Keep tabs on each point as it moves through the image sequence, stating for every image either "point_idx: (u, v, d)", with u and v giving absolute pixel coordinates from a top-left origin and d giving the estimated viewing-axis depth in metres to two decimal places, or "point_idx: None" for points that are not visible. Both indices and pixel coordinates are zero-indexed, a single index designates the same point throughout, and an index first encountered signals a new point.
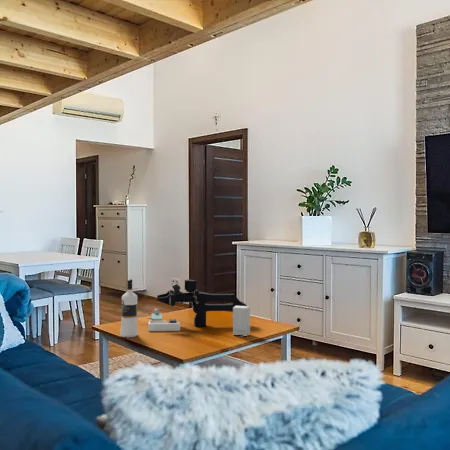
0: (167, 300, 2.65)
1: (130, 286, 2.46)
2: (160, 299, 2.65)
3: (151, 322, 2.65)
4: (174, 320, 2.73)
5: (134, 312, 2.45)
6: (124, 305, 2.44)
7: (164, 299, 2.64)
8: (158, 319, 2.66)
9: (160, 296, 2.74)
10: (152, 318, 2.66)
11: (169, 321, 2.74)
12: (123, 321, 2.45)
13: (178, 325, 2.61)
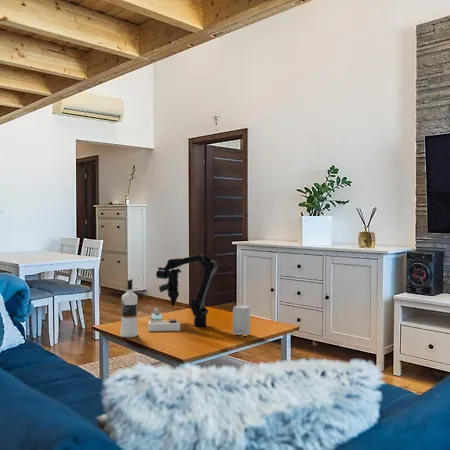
0: (174, 297, 2.77)
1: (130, 286, 2.46)
2: (172, 303, 2.78)
3: (151, 322, 2.65)
4: (174, 320, 2.73)
5: (134, 312, 2.45)
6: (124, 305, 2.44)
7: (172, 300, 2.77)
8: (158, 319, 2.66)
9: None
10: (152, 318, 2.66)
11: (169, 321, 2.74)
12: (123, 321, 2.45)
13: (178, 325, 2.61)
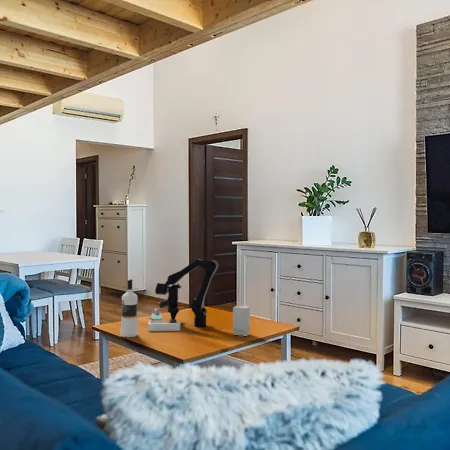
0: None
1: (130, 286, 2.46)
2: (172, 318, 2.76)
3: (151, 322, 2.65)
4: (174, 320, 2.73)
5: (134, 312, 2.45)
6: (124, 305, 2.44)
7: (172, 315, 2.76)
8: (158, 319, 2.66)
9: None
10: (152, 318, 2.66)
11: (170, 321, 2.74)
12: (123, 321, 2.45)
13: (178, 325, 2.61)
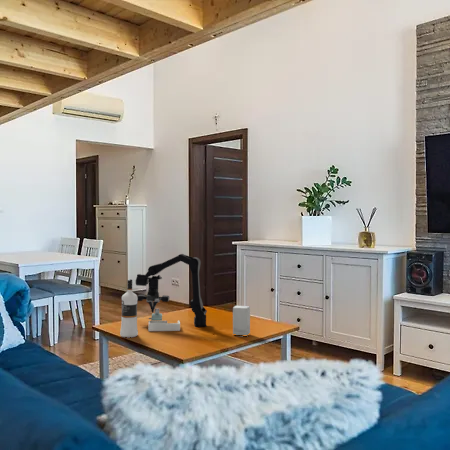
0: None
1: (130, 286, 2.46)
2: (153, 309, 2.77)
3: (151, 322, 2.65)
4: None
5: (134, 312, 2.45)
6: (124, 305, 2.44)
7: (155, 305, 2.77)
8: (158, 319, 2.66)
9: None
10: (152, 318, 2.66)
11: None
12: (123, 321, 2.45)
13: (178, 325, 2.61)
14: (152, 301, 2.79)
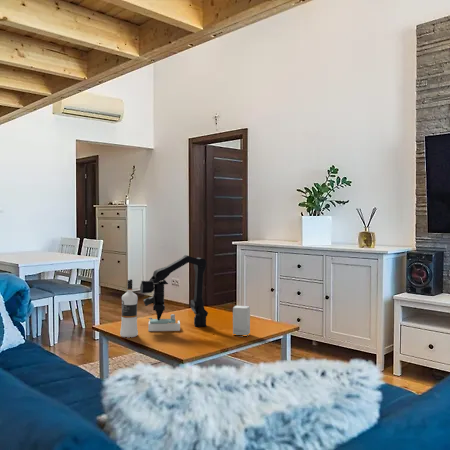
0: (159, 310, 2.61)
1: (130, 286, 2.46)
2: (158, 316, 2.62)
3: None
4: None
5: (134, 312, 2.45)
6: (124, 305, 2.44)
7: (158, 313, 2.61)
8: (150, 321, 2.61)
9: None
10: (151, 319, 2.64)
11: None
12: (123, 321, 2.45)
13: (178, 325, 2.61)
14: None
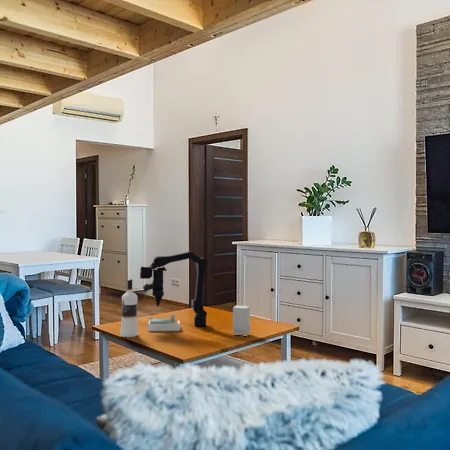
0: (158, 296, 2.65)
1: (130, 286, 2.46)
2: (157, 302, 2.66)
3: None
4: None
5: (134, 312, 2.45)
6: (124, 305, 2.44)
7: (157, 299, 2.65)
8: (150, 321, 2.61)
9: None
10: (151, 319, 2.64)
11: None
12: (123, 321, 2.45)
13: (178, 325, 2.61)
14: None
